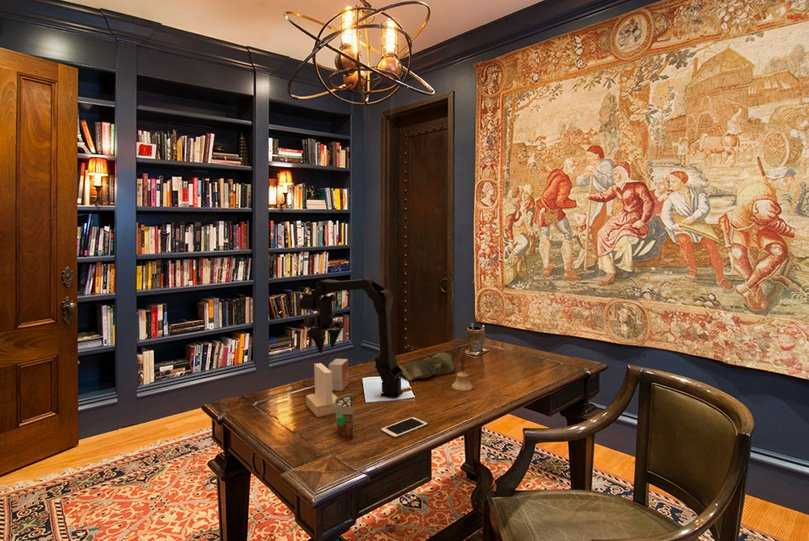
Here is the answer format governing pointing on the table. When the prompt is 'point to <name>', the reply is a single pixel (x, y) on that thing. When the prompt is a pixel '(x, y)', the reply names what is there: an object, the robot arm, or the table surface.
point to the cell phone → (403, 427)
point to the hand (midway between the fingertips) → (326, 349)
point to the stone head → (428, 367)
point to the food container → (345, 415)
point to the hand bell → (462, 375)
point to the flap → (322, 387)
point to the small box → (339, 374)
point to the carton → (320, 409)
